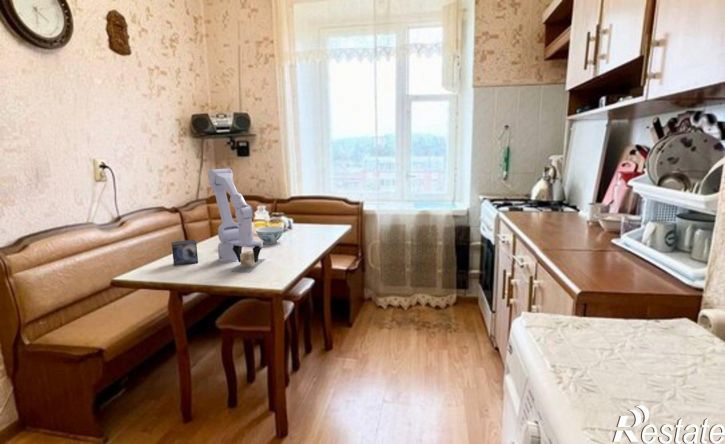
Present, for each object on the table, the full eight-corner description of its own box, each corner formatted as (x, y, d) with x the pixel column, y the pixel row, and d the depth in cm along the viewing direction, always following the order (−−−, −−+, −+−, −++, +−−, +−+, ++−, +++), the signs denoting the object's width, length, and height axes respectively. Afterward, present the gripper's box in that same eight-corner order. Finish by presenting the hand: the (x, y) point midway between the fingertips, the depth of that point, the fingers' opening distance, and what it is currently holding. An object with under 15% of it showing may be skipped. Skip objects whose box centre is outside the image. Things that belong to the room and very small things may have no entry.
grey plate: (229, 272, 175) (229, 272, 175) (248, 259, 194) (248, 258, 194) (249, 273, 174) (249, 272, 174) (265, 259, 193) (265, 259, 193)
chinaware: (289, 241, 229) (288, 227, 227) (270, 247, 216) (269, 233, 215) (270, 238, 237) (269, 225, 235) (251, 243, 224) (250, 230, 223)
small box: (174, 266, 185) (171, 244, 183) (173, 263, 190) (171, 241, 188) (198, 263, 190) (196, 241, 187) (197, 259, 195) (195, 239, 193)
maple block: (241, 266, 182) (240, 254, 181) (245, 263, 187) (244, 251, 185) (251, 267, 181) (250, 254, 180) (255, 263, 186) (254, 251, 185)
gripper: (226, 234, 178) (229, 264, 181) (258, 235, 176) (260, 264, 179) (233, 231, 185) (236, 259, 187) (263, 231, 183) (265, 260, 186)
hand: (248, 261), depth 184 cm, fingers open, 7 cm apart
